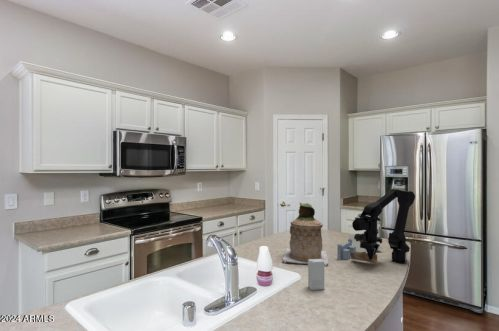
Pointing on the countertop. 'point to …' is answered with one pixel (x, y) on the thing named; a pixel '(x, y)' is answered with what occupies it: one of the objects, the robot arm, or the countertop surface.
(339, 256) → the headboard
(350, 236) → the pale grey slotted block
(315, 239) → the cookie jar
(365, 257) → the rail
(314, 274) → the skincare box
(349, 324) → the countertop surface
